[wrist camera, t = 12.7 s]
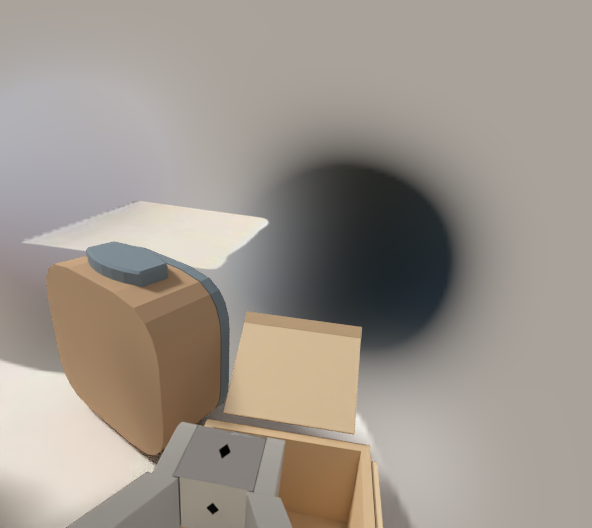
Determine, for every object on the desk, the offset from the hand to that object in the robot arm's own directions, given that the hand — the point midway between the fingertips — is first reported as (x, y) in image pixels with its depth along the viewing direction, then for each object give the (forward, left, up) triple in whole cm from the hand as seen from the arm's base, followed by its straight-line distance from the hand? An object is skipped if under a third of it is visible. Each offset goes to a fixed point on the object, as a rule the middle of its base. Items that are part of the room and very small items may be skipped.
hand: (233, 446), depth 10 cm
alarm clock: (-30, +14, -28) cm, 44 cm away
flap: (-9, +16, -18) cm, 25 cm away
